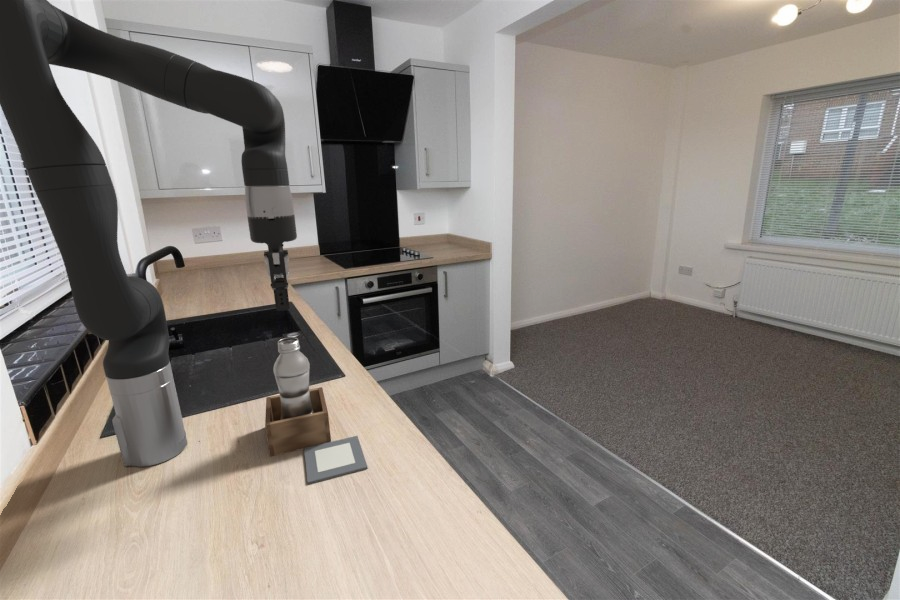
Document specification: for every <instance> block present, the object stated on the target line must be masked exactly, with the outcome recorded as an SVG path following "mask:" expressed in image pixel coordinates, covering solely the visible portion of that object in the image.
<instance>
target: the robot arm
mask: <svg viewBox="0 0 900 600" xmlns="http://www.w3.org/2000/svg"><path fill="white" fill-rule="evenodd" d="M51 65H52V66H55V67H56V66H57V67H62V68H66V69H68V68H69V69H72V70H77V71H82V72H86V73H90V74H94V75H97V76H100V77H103V78H107V79H110V80H113V81H115V82H118V83H121V84H123V85H126V86H128V87H130V88H133V89H135V90H137V91H140V92H142V93H144V94H146V95H147V94H148V95H150V96H152V97H155V98H157V99H160V100H163V101H165V102H168V103H170V104H173V105H177V106H179V107H182V108H185V109H189V110H191V111H194V112H197V113H200V114H209V115H212V116H214V117H217V118H219V119H221V120H224V121H227V122H229V123H231V124H234V125H237V126H239V127H241V128H242V134H243V135H242V136H243V145H244V150H243V152H242V154H241V170H242V176H243V183H244V202H245V209H246V215H247V222H248V231H249V237H250V240H251V242H252V243H255V244H265V245H267V249H268V250H266V251H263V252H264V253H263V260H264V264H266V273H267V277H268V278H269V279H270V282H271V283H270V287H271V289H272V290H273V296H274V304H275V305H274V306H275V310H276V311H278V312H280V311H288V310H290V300H289V282H288V278H289V276H290V269H289V262H290V257H289V250H288V249H284V243H288V242H293V241H295V240H297V238H298V235H297V226H296V217H295V209H294V208H295V207H294V201H293V196H292V195H293V194H292V192H291V186H290V180H289V179H290V178H289V170H288V169H289V168H288V163H287V157H286V122H285V121H286V120H285V113H284V110H283V106H282V104H281V102H280V100H279V99H278V98H277V97H276V96H275V94H273V92H272V91H271V90H270V89H269V88H267V87H266V86H264V85H262V84H261V83H258V82H257V81H254V80H253V79H252V80H251V79H249V78H246V77H242V76H240V75H237V74H233V73H229V72H226V71H222V70H218V69H214V68H211V67H209V66H207V65H205V64H203V63H200V62H198V61H196V60H193V59H191V58H187V57H185V56H182V55H180V54H177V53H174V52H172V51H169V50H166V49H163V48H160V47H158V46H154V45H150V44H146V43H143V42H142V43H141V42H137V41H133V40H129V39H126V38H123V37H119V36H116V35H113V34H112V33H111V34H110V33H108V32H105V31H103V30H100V29H99V28H95V27H94V26H92V25H89V24H88V23H85V22H84V21H82V20H80V19H78V18H77V17H75V16H73V15H71V14H69V13H67V12H65V11H64V10H61V9H60V8H58V7H57V6H55V5H53V4H52V3H51V2H50V1H48V0H0V107H1V111H2V113H3V116H4V117H5V119H6V122H7V125H8V127H9V130H10V132H11V134H12V136H13V139H14V141H15V143H16V146H17V148H18V150H19V154H20V156H21V159H22V163H23V165H24V167H25V170H26V173H27V174H28V179H29V181H30V183H31V185H32V188H33V190H34V192H35V195H36V197H37V199H38V201H39V203H40V205H41V208H42V210H43V213H44V215H45V217H46V221H47V223H48V225H49V228H50V231H51V234H52V236H53V239H54V242H55V243H56V246H57V248H58V251H59V253H60V255H61V258H62V261H63V264H64V268H65V271H66V274H67V278H68V279H67V280H68V283H69V286H70V291H71V294H72V300H73V302H74V306H75V309H76V313H77V315H78V318H79V320H80V322H81V324H82V325H83V326H84V328H85V329H86V330H87V331H88V332H90V334H92V335H93V336H95V337H97V338H99V339H101V340H104V341H108V343H107V344H108V346H107V349H106V352H105V355H104V358H103V360H102V367H103V372H104V375H105V377H106V378H105V379H106V381H107V385H108V389H109V393H110V396H111V401H112V404H113V408H114V412H115V415H114V416H113V418H112V421H111V422H112V425H113V429H114V434H115V437H116V440H117V445H118V448H119V451H120V455H121V459H122V462H123V465H124V467H129V466H134V467H141V468H143V467H150V466H155V465H158V464H161V463H164V462H166V461H168V460H171V459H173V458H174V457H176V456H178V455H179V454H181V452H183V451H184V450H185V448H186V447H187V445H188V439H187V433H186V429H185V425H184V421H183V416H182V411H181V407H180V402H179V398H178V393H177V390H176V384H175V380H174V375H173V371H172V370H173V369H172V365H171V361H170V357H169V349H170V335H169V330H168V328H169V327H168V322H167V317H166V311H165V307H164V302H163V300H162V297H161V295H160V294H161V293H160V292H159V290H158V289H157V288H156V286H154V285H153V284H152V283H151V282H150V281H148V280H146V279H144V278H141V277H138V276H133V275H132V276H131V275H130V276H129V275H128V274H127V272H126V269H125V267H124V264H123V261H122V258H121V255H120V251H119V243H118V231H119V230H118V226H119V225H118V224H119V223H118V221H119V209H118V208H119V207H118V206H119V205H118V198H117V193H116V189H115V187H114V183H113V181H112V178H111V175H110V172H109V169H108V167H107V163H106V160H105V159H104V156H103V154H102V152H101V150H100V148H99V146H98V145H97V143H96V141H95V140H94V139H93V137H92V136H91V135H90V133H89V132H88V130H87V129H86V128H85V126H84V125H83V123H81V121H80V120H79V118H78V117H77V115H76V114H75V113H74V112H73V110H72V109H71V107H70V106H69V104H68V102H67V101H66V100H65V98H64V96H63V95H62V93H61V91H60V88H59V87H58V85H57V83H56V80H55V78H54V75H53V73H52V70H51Z"/></svg>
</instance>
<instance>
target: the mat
mask: <svg viewBox="0 0 900 600" xmlns="http://www.w3.org/2000/svg"><path fill="white" fill-rule="evenodd" d="M303 450H304V459H305V460H304V461H305V470H306V478H307V485H310V484H311V485H312V484H315V483H317V482H318V483H319V482H322V481H326V480H330V479H333V478H337V477H340V476H345V475H349V474H352V473H357V472H359V471H364V470H367V469H369V468H368V464H367V461H366V458H365V455H364V452H363V448H362V446H361V443H360V440H359V436H358V435H354V436H350V437H346V438H341V439H338V440H333V441H332V440H331V442H328V443H324V444H319V445H315V446H311V447H307V448H304V449H303Z"/></svg>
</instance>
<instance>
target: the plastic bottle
mask: <svg viewBox="0 0 900 600" xmlns="http://www.w3.org/2000/svg"><path fill="white" fill-rule="evenodd" d="M300 350H301V345H300V341H299V338H297V337H292V336H291V337H285V338H281V339H279V340H278V341H277V352H278V353H279V355H278V356H277V358H276V360H275V362H274V364H273V369H272V370H273V374H274V378H275V382H276V385H277V388H278V389H277V390H278V393H279V394H278V395H280V399H281V419H280V420H284V419H288V418H293V417H298V416H303V415H308V414H313V413H314V411H313V408H312V404H311V399H310V394H309V389H310V369H311V368H310V361H309V359H308V357H306V355H304V353H303V352H301V351H300Z"/></svg>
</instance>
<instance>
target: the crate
mask: <svg viewBox="0 0 900 600" xmlns="http://www.w3.org/2000/svg"><path fill="white" fill-rule="evenodd" d="M309 394H310V399H311V404H312V408H313V411H314V413H313V414H308V415H303V416H298V417H293V418H288V419H284V420H280V419H281V399H280V394H278V395H277V394H276V395H273V396H267V397H266V398H265V401H266V402H265V417H264V418H265V421H264V425H265V426H264V427H265V433H266V434H265V435H266V439H267V446H268V452H269V457H272V456H277V455H282V454H286V453H291V452H294V451H298V450H304V448H307V447H311V446H315V445H319V444H324V443H328V442H332V437H331V429H330V419H329V410H328V407H327V402H326V398H325V397H326V396H325V393H324V389H323V387H322V386H321V387H315V388H309Z"/></svg>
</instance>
